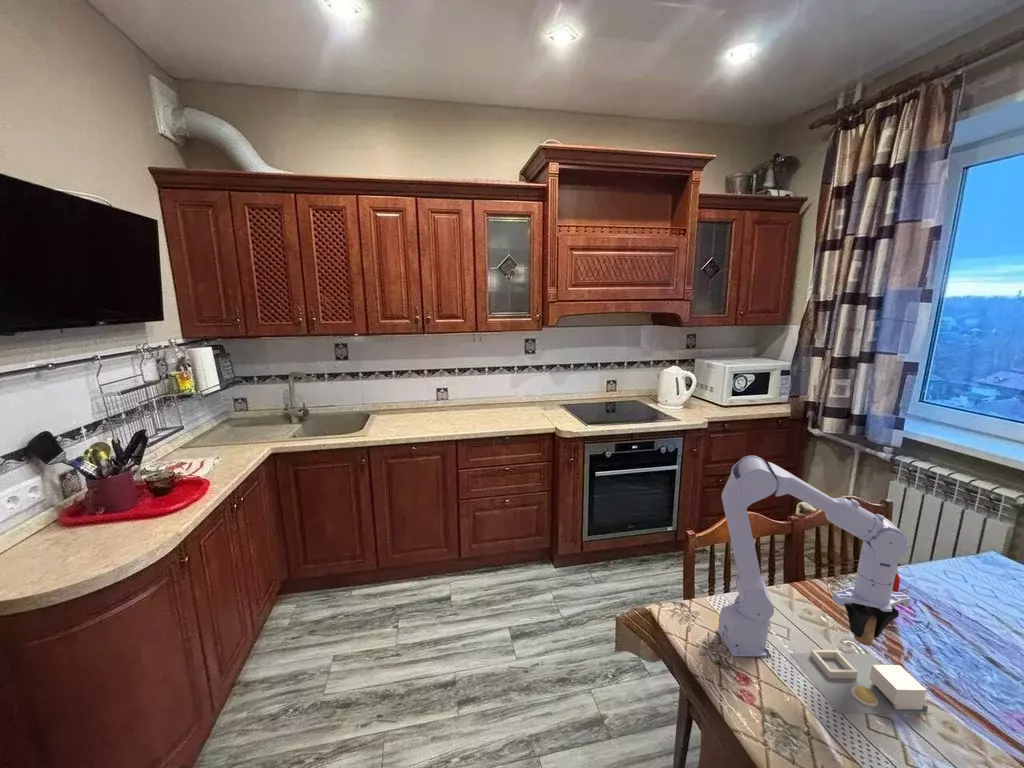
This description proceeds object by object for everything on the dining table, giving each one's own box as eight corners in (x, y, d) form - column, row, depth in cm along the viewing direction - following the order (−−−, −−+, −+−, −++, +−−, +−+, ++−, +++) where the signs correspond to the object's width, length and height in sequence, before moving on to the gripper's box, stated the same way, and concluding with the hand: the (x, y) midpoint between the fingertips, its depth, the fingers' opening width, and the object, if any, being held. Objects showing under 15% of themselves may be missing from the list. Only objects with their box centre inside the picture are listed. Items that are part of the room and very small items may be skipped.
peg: (861, 645, 87) (866, 620, 86) (850, 634, 90) (854, 610, 89) (875, 645, 87) (881, 620, 86) (863, 634, 90) (868, 610, 89)
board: (836, 718, 80) (838, 706, 79) (788, 657, 93) (790, 647, 93) (931, 719, 80) (933, 707, 79) (869, 658, 93) (871, 647, 93)
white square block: (893, 709, 80) (897, 689, 79) (868, 683, 86) (872, 664, 85) (922, 709, 80) (926, 690, 79) (895, 683, 86) (899, 665, 85)
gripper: (855, 588, 82) (844, 648, 84) (929, 589, 82) (916, 649, 84) (828, 566, 89) (819, 622, 91) (896, 567, 89) (885, 623, 91)
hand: (863, 633), depth 88 cm, fingers closed on peg, 3 cm apart
